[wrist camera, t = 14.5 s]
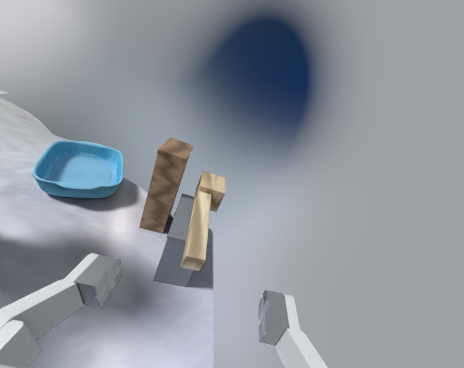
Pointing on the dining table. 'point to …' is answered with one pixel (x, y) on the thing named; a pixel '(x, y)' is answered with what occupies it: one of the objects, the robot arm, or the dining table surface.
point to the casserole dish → (79, 170)
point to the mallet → (202, 219)
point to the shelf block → (165, 184)
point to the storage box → (176, 246)
